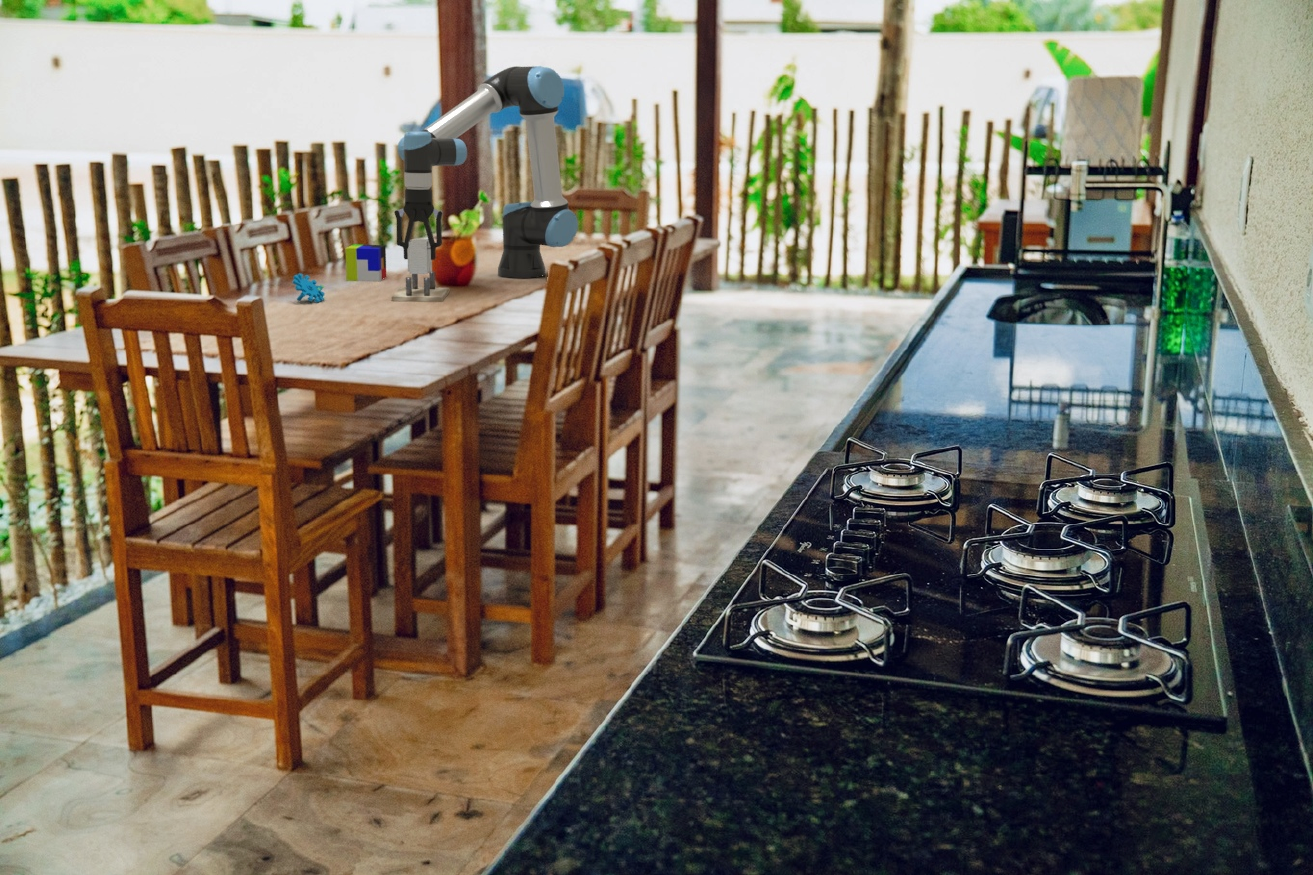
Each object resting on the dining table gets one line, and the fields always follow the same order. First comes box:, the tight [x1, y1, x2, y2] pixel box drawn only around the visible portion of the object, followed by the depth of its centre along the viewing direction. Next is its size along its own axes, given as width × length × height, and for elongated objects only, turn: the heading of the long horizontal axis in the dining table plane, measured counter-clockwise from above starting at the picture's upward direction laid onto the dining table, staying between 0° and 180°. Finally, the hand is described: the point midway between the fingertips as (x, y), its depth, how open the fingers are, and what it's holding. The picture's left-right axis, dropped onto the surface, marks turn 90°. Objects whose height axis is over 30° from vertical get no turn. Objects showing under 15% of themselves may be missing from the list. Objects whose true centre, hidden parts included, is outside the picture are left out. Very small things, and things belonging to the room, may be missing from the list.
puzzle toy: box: [344, 243, 387, 282], centre depth 407 cm, size 10×10×10 cm
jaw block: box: [408, 238, 430, 275], centre depth 374 cm, size 5×7×9 cm
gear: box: [292, 272, 326, 304], centre depth 365 cm, size 11×6×10 cm
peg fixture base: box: [390, 270, 450, 303], centre depth 376 cm, size 14×18×6 cm
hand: (420, 271), depth 375 cm, fingers closed on jaw block, 5 cm apart
